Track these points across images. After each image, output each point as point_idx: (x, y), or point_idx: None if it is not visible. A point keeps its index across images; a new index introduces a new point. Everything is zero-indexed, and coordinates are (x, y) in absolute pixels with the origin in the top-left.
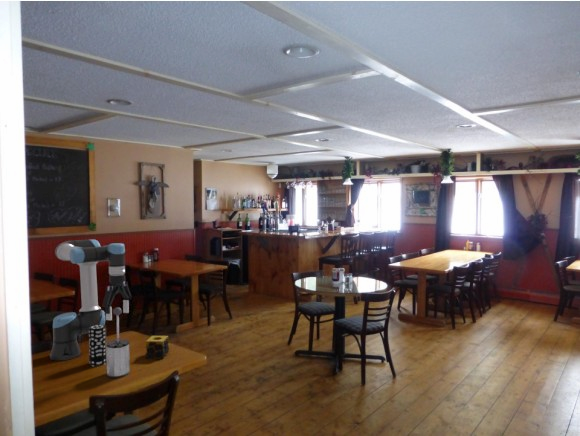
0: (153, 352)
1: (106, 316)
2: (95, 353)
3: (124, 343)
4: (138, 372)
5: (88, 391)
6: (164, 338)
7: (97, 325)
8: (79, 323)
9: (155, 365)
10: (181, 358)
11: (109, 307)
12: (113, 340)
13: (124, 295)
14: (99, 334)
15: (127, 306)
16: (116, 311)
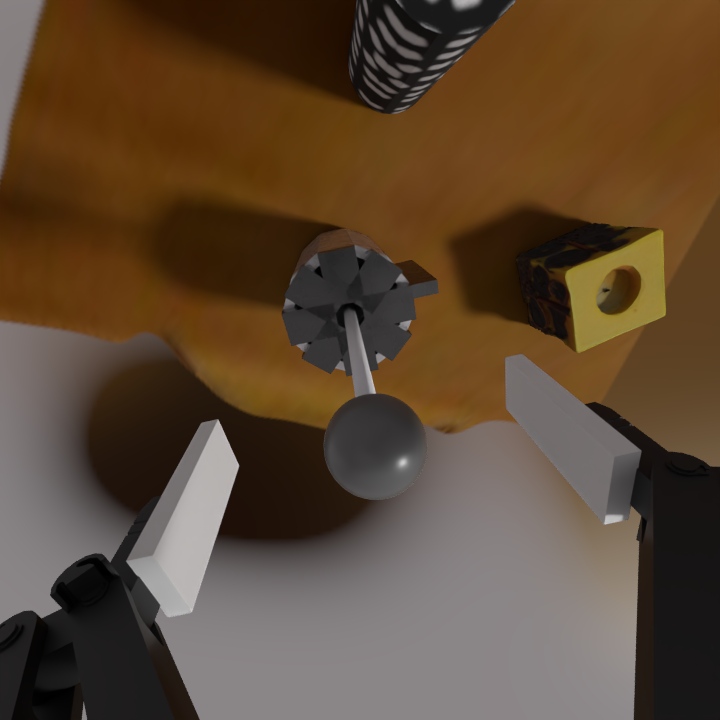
0: (539, 291)
1: (189, 454)
2: (362, 68)
3: None
4: None
5: (173, 301)
6: (621, 328)
7: None
8: None
9: (463, 342)
10: None
11: (158, 600)
12: (368, 256)
13: (640, 623)
14: (403, 45)
15: (547, 452)
16: (333, 476)
